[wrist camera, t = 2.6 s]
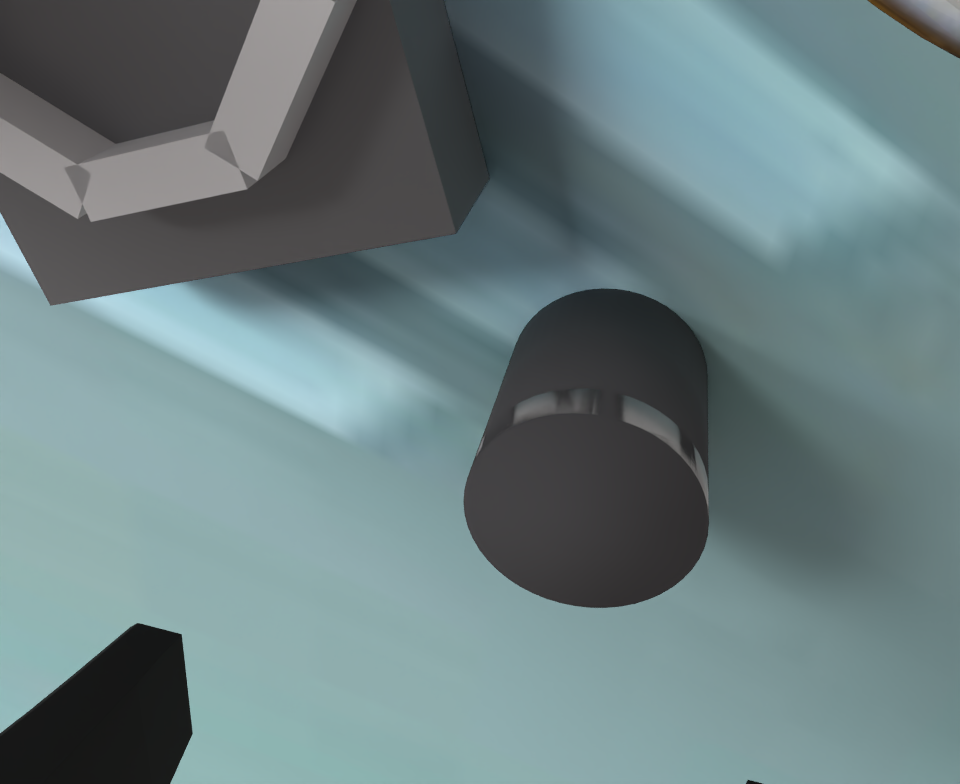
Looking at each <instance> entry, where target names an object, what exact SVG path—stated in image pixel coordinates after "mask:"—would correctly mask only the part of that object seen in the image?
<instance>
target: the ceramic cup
mask: <svg viewBox="0 0 960 784" xmlns="http://www.w3.org/2000/svg"><path fill="white" fill-rule="evenodd" d="M868 1H869V2H870V3H872V4H873V5H874V6H876V7H877V8H878V9H880V10H881V11H883V12H884V13H886V14H887V15H889V16H890V17H892V18H893V19H895V20H896V21H898V22H899V23H901V24H902V25H904V26H905V27H907V28H908V29H910V30H911V31H913V32H914V33H916V34H917V35H919V36H920V37H922V38H923V39H925V40H927V41H929V42H931V43H932V44H934V45H936V46H938V47H940V48H941V49H943V50H945V51H947V52H949V53H950V54H952V55H954V56H956V57H958V58H960V0H868Z"/></svg>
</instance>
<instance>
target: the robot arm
mask: <svg viewBox="0 0 960 784" xmlns="http://www.w3.org/2000/svg"><path fill="white" fill-rule="evenodd" d="M192 734H193V733H192V724H191V715H190V706H189V697H188V688H187V679H186V670H185V661H184V652H183V643H182V634H178V633H175V632H171V631H167V630H163V629H159V628H155V627H151V626H147V625H143V624H140V623H137V624H135V625H133V626H132V627H130V628H129V629H128V630H126V631H125V632H124V633H123V634H122V635H120V636H119V637H118V638H117V639H116V640H115V641H113V642H112V643H111V644H110V645H109V646H107V647H106V648H105V649H104V650H103V651H101V652H100V653H99V654H98V655H97V656H95V657H94V658H93V659H92V660H91V661H89V662H88V663H87V664H86V665H85V666H83V667H82V668H81V669H80V670H79V671H77V672H76V673H75V674H74V675H73V676H71V677H70V678H69V679H68V680H67V681H65V682H64V683H63V684H62V685H60V686H59V687H58V688H57V689H56V690H54V691H53V692H52V693H51V694H49V695H48V696H47V697H46V698H44V699H43V700H42V701H41V702H40V703H38V704H37V705H36V706H35V707H33V708H32V709H31V710H30V711H28V712H27V713H26V714H24V715H23V716H22V717H21V718H19V719H18V720H17V721H15V722H14V723H13V724H12V725H10V726H9V727H8V728H7V729H5V730H4V731H3V732H1V733H0V784H170V782H171V780H172V778H173V776H174V774H175V772H176V769H177V767H178V765H179V763H180V760H181V758H182V756H183V754H184V751H185V749H186V747H187V745H188V743H189V740H190V738H191V736H192ZM746 784H762V783H758V782H754V781H750V780H748V781H747V783H746Z"/></svg>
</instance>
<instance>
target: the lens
mask: <svg viewBox="0 0 960 784" xmlns="http://www.w3.org/2000/svg"><path fill="white" fill-rule="evenodd" d="M464 512H465V517H466V521H467V525H468V528H469V530H470V533H471V535H472V538H473V539H474V541H475V543H476V545H477V546H478V548H479V550H480V551H481V552H482V553H483V555H484V556H485V557H486V559H487V560H488V561H489V562H490V563H491V564H492V565H493V566H494V567H495V568H496V569H497V570H498V571H499V572H501V573H502V574H503V575H504V576H506V577H507V578H508V579H510V580H511V581H513V582H514V583H516V584H517V585H519V586H520V587H522V588H524V589H526V590H528V591H530V592H532V593H534V594H536V595H539V596H541V597H544V598H546V599H549V600H553V601H556V602H559V603H564V604H569V605H574V606H581V607H591V608H607V607H619V606H625V605H630V604H635V603H638V602H642V601H645V600H648V599H650V598H653V597H655V596H657V595H660V594H662V593H663V592H665V591H667V590H668V589H670V588H672V587H673V586H675V585H676V584H677V583H678V582H680V581H681V580H682V579H683V578H684V577H685V576H686V575H687V574H688V573H689V572H690V571H691V570H692V568H693V567H694V566H695V564H696V563H697V561H698V560H699V558H700V556H701V554H702V552H703V550H704V547H705V543H706V540H707V536H708V526H709V488H708V378H707V365H706V360H705V356H704V353H703V350H702V348H701V345H700V343H699V341H698V340H697V338H696V336H695V334H694V333H693V331H692V330H691V329H690V328H689V326H688V325H687V324H686V323H685V322H684V321H683V320H682V319H681V318H680V317H679V316H678V315H677V314H676V313H674V312H673V311H672V310H670V309H669V308H668V307H666V306H665V305H663V304H661V303H659V302H657V301H656V300H654V299H651V298H649V297H646V296H644V295H641V294H638V293H634V292H630V291H625V290H618V289H592V290H585V291H580V292H576V293H573V294H570V295H567V296H564V297H562V298H560V299H558V300H556V301H554V302H552V303H550V304H549V305H547V306H546V307H544V308H543V309H542V310H540V311H539V312H538V313H537V314H536V315H535V316H534V317H533V318H532V319H531V320H530V321H529V323H528V324H527V325H526V326H525V328H524V329H523V331H522V333H521V334H520V336H519V339H518V341H517V343H516V346H515V348H514V351H513V354H512V357H511V359H510V362H509V365H508V368H507V370H506V373H505V376H504V379H503V381H502V384H501V387H500V390H499V393H498V395H497V398H496V401H495V404H494V406H493V409H492V412H491V415H490V417H489V420H488V423H487V426H486V428H485V431H484V434H483V437H482V439H481V442H480V445H479V448H478V450H477V453H476V456H475V459H474V462H473V464H472V467H471V470H470V473H469V475H468V478H467V482H466V486H465V490H464Z"/></svg>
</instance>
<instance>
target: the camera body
mask: <svg viewBox="0 0 960 784" xmlns="http://www.w3.org/2000/svg"><path fill="white" fill-rule="evenodd" d="M489 179H490V178H489V174H488V171H487V167H486V163H485V159H484V155H483V151H482V147H481V143H480V140H479V136H478V132H477V128H476V124H475V120H474V116H473V112H472V109H471V105H470V101H469V97H468V93H467V89H466V85H465V81H464V78H463V74H462V70H461V66H460V62H459V58H458V54H457V51H456V47H455V43H454V39H453V35H452V31H451V27H450V23H449V20H448V16H447V12H446V8H445V4H444V0H0V213H1V214H2V216H3V218H4V220H5V222H6V224H7V226H8V227H9V229H10V231H11V233H12V235H13V237H14V239H15V240H16V242H17V244H18V246H19V248H20V250H21V252H22V253H23V255H24V257H25V259H26V261H27V263H28V264H29V266H30V268H31V270H32V272H33V274H34V276H35V277H36V279H37V281H38V283H39V285H40V287H41V289H42V290H43V292H44V294H45V296H46V298H47V300H48V302H49V303H50V305H56V304H62V303H68V302H73V301H79V300H85V299H90V298H96V297H102V296H107V295H113V294H119V293H124V292H130V291H135V290H141V289H147V288H152V287H158V286H164V285H169V284H175V283H181V282H186V281H192V280H198V279H203V278H209V277H215V276H220V275H226V274H231V273H237V272H243V271H248V270H254V269H260V268H265V267H271V266H277V265H282V264H288V263H294V262H299V261H305V260H311V259H316V258H322V257H327V256H333V255H339V254H344V253H350V252H356V251H361V250H367V249H373V248H378V247H384V246H390V245H395V244H401V243H407V242H412V241H418V240H423V239H429V238H435V237H440V236H446V235H452V234H456V233H457V231H458V230H459V228H460V226H461V225H462V223H463V222H464V220H465V218H466V217H467V215H468V213H469V212H470V210H471V208H472V207H473V205H474V203H475V202H476V200H477V199H478V197H479V195H480V194H481V192H482V190H483V189H484V187H485V185H486V184H487V182H488V180H489Z"/></svg>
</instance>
